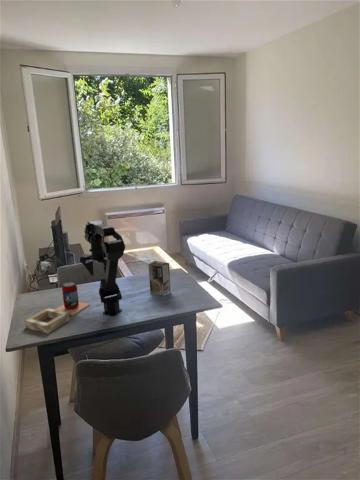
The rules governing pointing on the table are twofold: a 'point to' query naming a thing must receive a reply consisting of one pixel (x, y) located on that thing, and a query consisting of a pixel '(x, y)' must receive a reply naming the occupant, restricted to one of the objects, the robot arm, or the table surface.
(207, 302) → the table surface
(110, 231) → the robot arm
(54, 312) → the holder
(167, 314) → the table surface
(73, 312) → the mat
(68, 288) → the beverage can
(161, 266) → the coffee box
